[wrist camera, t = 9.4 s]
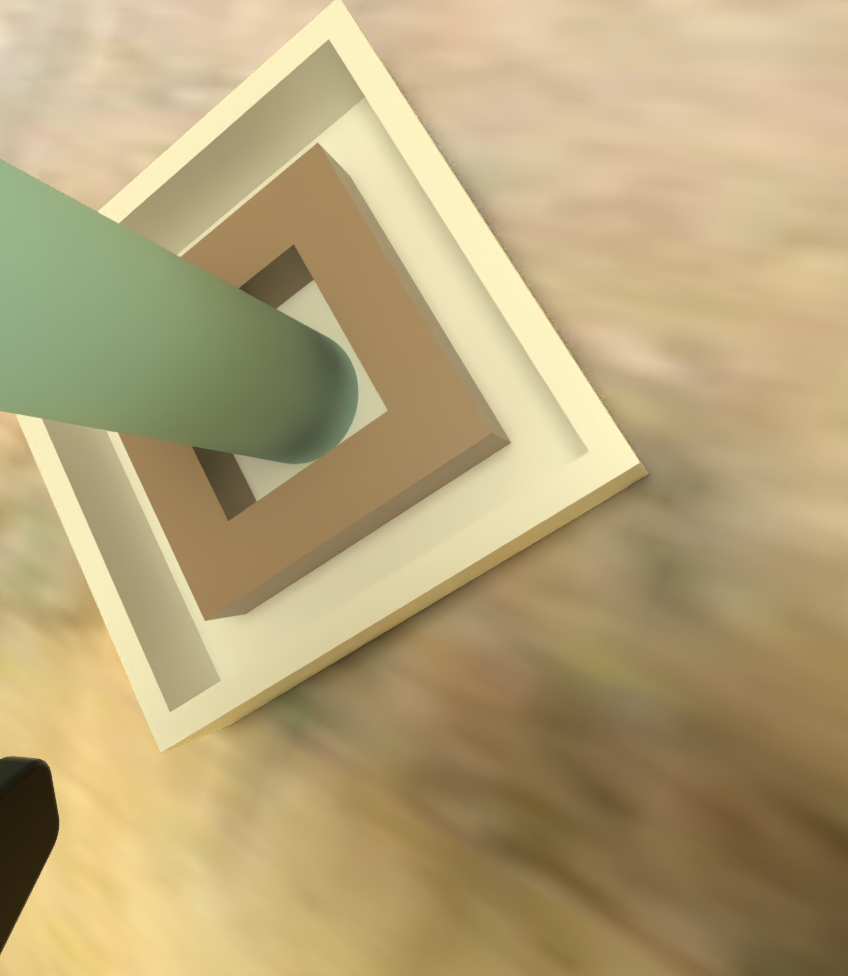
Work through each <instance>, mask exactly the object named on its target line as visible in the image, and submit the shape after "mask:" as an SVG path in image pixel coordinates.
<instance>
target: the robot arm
mask: <svg viewBox="0 0 848 976" xmlns="http://www.w3.org/2000/svg"><path fill="white" fill-rule="evenodd" d="M58 831H59V814H58V809H57V803H56V798H55V792H54V786H53V781H52V775H51V770H50V767H49V766H48V764H47V763H46V762H45V761H43V760H41V759H36V758H26V757H16V756H12V757H5V758H2V759H0V954H1V952H2V950H3V948H4V946H5V944H6V942H7V940H8V938H9V936H10V934H11V932H12V930H13V928H14V926H15V924H16V922H17V920H18V918H19V916H20V914H21V912H22V910H23V908H24V906H25V904H26V902H27V900H28V898H29V896H30V894H31V892H32V890H33V888H34V886H35V884H36V882H37V880H38V878H39V876H40V873H41V871H42V869H43V867H44V865H45V863H46V861H47V859H48V857H49V855H50V853H51V851H52V849H53V847H54V845H55V842H56V839H57V836H58Z"/></svg>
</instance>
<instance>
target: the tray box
mask: <svg viewBox="0 0 848 976" xmlns="http://www.w3.org/2000/svg"><path fill="white" fill-rule="evenodd" d="M98 212H99V213H100V214H102V215H104V216H106V217H108V218H110V219H111V220H113V221H115V222H117V223H119V224H121V225H122V226H124V227H126V228H128V229H130V230H132V231H134V232H135V233H137V234H139V235H141V236H143V237H145V238H146V239H148V240H150V241H152V242H154V243H156V244H157V245H159V246H161V247H163V248H165V249H167V250H168V251H170V252H172V253H174V254H176V255H178V256H180V257H181V258H183V259H185V260H187V261H189V262H191V263H192V264H194V265H196V266H198V267H200V268H202V269H203V270H205V271H207V272H209V273H211V274H213V275H214V276H216V277H218V278H220V279H222V280H224V281H226V282H227V283H229V284H231V285H233V286H235V287H237V288H238V289H240V290H242V291H244V292H246V293H248V294H249V295H251V296H253V297H255V298H257V299H259V300H260V301H262V302H264V303H266V304H268V305H270V306H272V307H273V308H275V309H277V310H279V311H281V312H283V313H284V314H286V315H288V316H290V317H292V318H294V319H295V320H297V321H299V322H301V323H303V324H305V325H306V326H308V327H310V328H312V329H314V330H316V331H318V332H319V333H321V334H323V335H325V336H327V337H329V338H330V339H332V340H333V341H335V342H336V343H337V344H338V345H339V346H340V347H341V348H342V349H343V350H344V351H345V352H346V354H347V355H348V357H349V358H350V360H351V362H352V364H353V367H354V369H355V372H356V376H357V381H358V405H357V409H356V414H355V416H354V419H353V422H352V424H351V426H350V428H349V430H348V432H347V433H346V435H345V436H344V438H343V439H342V440H341V441H340V443H339V444H338V445H337V446H336V447H335V448H333V449H332V450H330V451H329V452H327V453H326V454H325V455H323V456H322V457H320V458H319V459H317V460H314V461H311V462H307V463H303V464H287V463H281V462H276V461H270V460H265V459H259V458H254V457H248V456H243V455H237V454H232V453H227V452H221V451H216V450H210V449H205V448H199V447H194V446H188V445H183V444H178V443H172V442H167V441H161V440H156V439H150V438H145V437H139V436H134V435H129V434H123V433H118V432H112V431H107V430H101V429H96V428H90V427H85V426H80V425H74V424H69V423H63V422H58V421H52V420H47V419H41V418H36V417H31V416H25V415H20V414H16V416H17V419H18V421H19V423H20V426H21V428H22V430H23V433H24V435H25V437H26V440H27V442H28V444H29V447H30V449H31V451H32V454H33V456H34V458H35V461H36V463H37V465H38V468H39V470H40V472H41V475H42V477H43V479H44V482H45V484H46V486H47V489H48V491H49V493H50V496H51V498H52V500H53V503H54V505H55V507H56V510H57V512H58V515H59V517H60V519H61V522H62V524H63V526H64V529H65V531H66V533H67V536H68V538H69V540H70V543H71V545H72V547H73V550H74V552H75V554H76V557H77V559H78V561H79V564H80V566H81V568H82V571H83V573H84V575H85V578H86V580H87V582H88V585H89V587H90V589H91V592H92V594H93V596H94V599H95V601H96V603H97V606H98V608H99V610H100V613H101V615H102V617H103V620H104V622H105V624H106V627H107V629H108V631H109V634H110V636H111V638H112V641H113V643H114V645H115V648H116V650H117V652H118V655H119V657H120V660H121V662H122V664H123V667H124V669H125V671H126V674H127V676H128V678H129V681H130V683H131V685H132V688H133V690H134V692H135V695H136V697H137V699H138V702H139V704H140V706H141V709H142V711H143V713H144V716H145V718H146V720H147V723H148V725H149V727H150V730H151V732H152V734H153V737H154V739H155V741H156V744H157V746H158V748H159V751H160V753H162V752H164V751H167V750H169V749H172V748H174V747H177V746H179V745H182V744H184V743H187V742H189V741H192V740H194V739H197V738H199V737H202V736H204V735H207V734H209V733H212V732H214V731H217V730H219V729H222V728H224V727H227V726H229V725H231V724H233V723H235V722H236V721H238V720H240V719H241V718H243V717H245V716H246V715H248V714H250V713H251V712H253V711H255V710H256V709H258V708H260V707H261V706H263V705H265V704H266V703H268V702H270V701H271V700H273V699H275V698H276V697H278V696H280V695H281V694H283V693H285V692H286V691H288V690H290V689H291V688H293V687H295V686H296V685H298V684H300V683H301V682H303V681H305V680H306V679H308V678H310V677H311V676H313V675H315V674H316V673H318V672H320V671H321V670H323V669H325V668H326V667H328V666H330V665H331V664H333V663H335V662H336V661H338V660H340V659H341V658H343V657H345V656H347V655H348V654H350V653H352V652H353V651H355V650H357V649H358V648H360V647H362V646H363V645H365V644H367V643H368V642H370V641H372V640H373V639H375V638H377V637H378V636H380V635H382V634H383V633H385V632H387V631H388V630H390V629H392V628H393V627H395V626H397V625H398V624H400V623H402V622H403V621H405V620H407V619H408V618H410V617H412V616H413V615H415V614H417V613H418V612H420V611H422V610H423V609H425V608H427V607H428V606H430V605H432V604H433V603H435V602H437V601H438V600H440V599H442V598H443V597H445V596H447V595H448V594H450V593H452V592H453V591H455V590H457V589H458V588H460V587H462V586H463V585H465V584H467V583H468V582H470V581H472V580H473V579H475V578H477V577H478V576H480V575H482V574H483V573H485V572H487V571H488V570H490V569H492V568H493V567H495V566H497V565H498V564H500V563H502V562H503V561H505V560H507V559H508V558H510V557H512V556H513V555H515V554H517V553H518V552H520V551H522V550H524V549H525V548H527V547H529V546H530V545H532V544H534V543H535V542H537V541H539V540H540V539H542V538H544V537H545V536H547V535H549V534H550V533H552V532H554V531H555V530H557V529H559V528H560V527H562V526H564V525H565V524H567V523H569V522H570V521H572V520H574V519H575V518H577V517H579V516H580V515H582V514H584V513H585V512H587V511H589V510H590V509H592V508H594V507H595V506H597V505H599V504H600V503H602V502H604V501H605V500H607V499H609V498H610V497H612V496H614V495H615V494H617V493H619V492H620V491H622V490H624V489H625V488H627V487H629V486H630V485H632V484H634V483H635V482H637V481H639V480H640V479H642V478H644V477H645V476H647V475H649V473H648V472H647V470H646V468H645V467H644V465H643V464H642V462H641V461H640V459H639V458H638V456H637V455H636V453H635V452H634V450H633V448H632V447H631V445H630V444H629V442H628V441H627V439H626V438H625V436H624V435H623V433H622V431H621V430H620V428H619V427H618V425H617V424H616V422H615V421H614V419H613V418H612V416H611V414H610V413H609V411H608V410H607V408H606V407H605V405H604V404H603V402H602V401H601V399H600V397H599V396H598V394H597V393H596V391H595V390H594V388H593V387H592V385H591V384H590V382H589V380H588V379H587V377H586V376H585V374H584V373H583V371H582V370H581V368H580V367H579V365H578V363H577V362H576V360H575V359H574V357H573V356H572V354H571V353H570V351H569V350H568V348H567V346H566V345H565V343H564V342H563V340H562V339H561V337H560V336H559V334H558V333H557V331H556V329H555V328H554V326H553V325H552V323H551V322H550V320H549V319H548V317H547V316H546V314H545V312H544V311H543V309H542V308H541V306H540V305H539V303H538V302H537V300H536V299H535V297H534V295H533V294H532V292H531V291H530V289H529V288H528V286H527V285H526V283H525V282H524V280H523V278H522V277H521V275H520V274H519V272H518V271H517V269H516V268H515V266H514V265H513V263H512V261H511V260H510V258H509V257H508V255H507V254H506V252H505V251H504V249H503V248H502V246H501V244H500V243H499V241H498V240H497V238H496V237H495V235H494V234H493V232H492V231H491V229H490V227H489V226H488V224H487V223H486V221H485V220H484V218H483V217H482V215H481V214H480V212H479V210H478V209H477V207H476V206H475V204H474V203H473V201H472V200H471V198H470V197H469V195H468V194H467V192H466V190H465V189H464V187H463V186H462V184H461V183H460V181H459V180H458V178H457V177H456V175H455V173H454V172H453V170H452V169H451V167H450V166H449V164H448V163H447V161H446V160H445V158H444V156H443V155H442V153H441V152H440V150H439V149H438V147H437V146H436V144H435V143H434V141H433V139H432V138H431V136H430V135H429V133H428V132H427V130H426V129H425V127H424V126H423V124H422V122H421V121H420V119H419V118H418V116H417V115H416V113H415V112H414V110H413V109H412V107H411V105H410V104H409V102H408V101H407V99H406V98H405V96H404V95H403V93H402V92H401V90H400V88H399V87H398V85H397V84H396V82H395V81H394V79H393V78H392V76H391V75H390V73H389V71H388V70H387V68H386V67H385V65H384V64H383V62H382V61H381V59H380V58H379V56H378V55H377V53H376V52H375V50H374V49H373V47H372V46H371V44H370V43H369V41H368V40H367V38H366V37H365V35H364V34H363V32H362V31H361V29H360V28H359V26H358V25H357V23H356V22H355V20H354V19H353V17H352V16H351V14H350V13H349V11H348V10H347V8H346V7H345V5H344V4H343V2H342V1H341V0H334V1H333V2H332V3H331V4H330V5H329V6H328V7H327V8H325V9H324V10H323V11H322V12H321V13H320V14H319V15H318V16H317V17H315V18H314V19H313V20H312V21H311V22H310V23H309V24H308V25H306V26H305V27H304V28H303V29H302V30H301V31H300V32H299V33H297V34H296V35H295V36H294V37H293V38H292V39H291V40H290V41H289V42H287V43H286V44H285V45H284V46H283V47H282V48H281V49H280V50H278V51H277V52H276V53H275V54H274V55H273V56H272V57H271V58H269V59H268V60H267V61H266V62H265V63H264V64H263V65H262V66H260V67H259V68H258V69H257V70H256V71H255V72H254V73H253V74H252V75H250V76H249V77H248V78H247V79H246V80H245V81H244V82H243V83H241V84H240V85H239V86H238V87H237V88H236V89H235V90H234V91H232V92H231V93H230V94H229V95H228V96H227V97H226V98H225V99H223V100H222V101H221V102H220V103H219V104H218V105H217V106H216V107H215V108H213V109H212V110H211V111H210V112H209V113H208V114H207V115H206V116H204V117H203V118H202V119H201V120H200V121H199V122H198V123H197V124H195V125H194V126H193V127H192V128H191V129H190V130H189V131H188V132H186V133H185V134H184V135H183V136H182V137H181V138H180V139H179V140H178V141H176V142H175V143H174V144H173V145H172V146H171V147H170V148H169V149H167V150H166V151H165V152H164V153H163V154H162V155H161V156H160V157H158V158H157V159H156V160H155V161H154V162H153V163H152V164H151V165H150V166H148V167H147V168H146V169H145V170H144V171H143V172H142V173H141V174H139V175H138V176H137V177H136V178H135V179H134V180H133V181H132V182H130V183H129V184H128V185H127V186H126V187H125V188H124V189H123V190H121V191H120V192H119V193H118V194H117V195H116V196H115V197H114V198H113V199H111V200H110V201H109V202H108V203H107V204H106V205H105V206H104V207H102V208H101V209H100V210H99V211H98Z"/></svg>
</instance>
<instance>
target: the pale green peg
mask: <svg viewBox="0 0 848 976" xmlns="http://www.w3.org/2000/svg"><path fill="white" fill-rule="evenodd" d="M357 405H358V381H357V376H356V372H355V369H354V367H353V364H352V362H351V360H350V358H349V357H348V355H347V354H346V352H345V351H344V350H343V349H342V348H341V347H340V346H339V345H338V344H337V343H336V342H335V341H333V340H332V339H330V338H329V337H327V336H325V335H323V334H321V333H319V332H318V331H316V330H314V329H312V328H310V327H308V326H306V325H305V324H303V323H301V322H299V321H297V320H295V319H294V318H292V317H290V316H288V315H286V314H284V313H283V312H281V311H279V310H277V309H275V308H273V307H272V306H270V305H268V304H266V303H264V302H262V301H260V300H259V299H257V298H255V297H253V296H251V295H249V294H248V293H246V292H244V291H242V290H240V289H238V288H237V287H235V286H233V285H231V284H229V283H227V282H226V281H224V280H222V279H220V278H218V277H216V276H214V275H213V274H211V273H209V272H207V271H205V270H203V269H202V268H200V267H198V266H196V265H194V264H192V263H191V262H189V261H187V260H185V259H183V258H181V257H180V256H178V255H176V254H174V253H172V252H170V251H168V250H167V249H165V248H163V247H161V246H159V245H157V244H156V243H154V242H152V241H150V240H148V239H146V238H145V237H143V236H141V235H139V234H137V233H135V232H134V231H132V230H130V229H128V228H126V227H124V226H122V225H121V224H119V223H117V222H115V221H113V220H111V219H110V218H108V217H106V216H104V215H102V214H100V213H99V212H97V211H95V210H93V209H91V208H89V207H88V206H86V205H84V204H82V203H80V202H78V201H76V200H75V199H73V198H71V197H69V196H67V195H65V194H64V193H62V192H60V191H58V190H56V189H54V188H53V187H51V186H49V185H47V184H45V183H43V182H42V181H40V180H38V179H36V178H34V177H32V176H30V175H29V174H27V173H25V172H23V171H21V170H19V169H18V168H16V167H14V166H12V165H10V164H8V163H7V162H5V161H3V160H1V159H0V411H3V412H9V413H14V414H20V415H25V416H31V417H36V418H41V419H47V420H52V421H58V422H63V423H69V424H74V425H80V426H85V427H90V428H96V429H101V430H107V431H112V432H118V433H123V434H129V435H134V436H139V437H145V438H150V439H156V440H161V441H167V442H172V443H178V444H183V445H188V446H194V447H199V448H205V449H210V450H216V451H221V452H227V453H232V454H237V455H243V456H248V457H254V458H259V459H265V460H270V461H276V462H281V463H287V464H303V463H307V462H311V461H314V460H317V459H319V458H320V457H322V456H323V455H325V454H326V453H327V452H329V451H330V450H332V449H333V448H335V447H336V446H337V445H338V444H339V443H340V441H341V440H342V439H343V438H344V436H345V435H346V433H347V432H348V430H349V428H350V426H351V424H352V422H353V419H354V416H355V414H356V409H357Z"/></svg>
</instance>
